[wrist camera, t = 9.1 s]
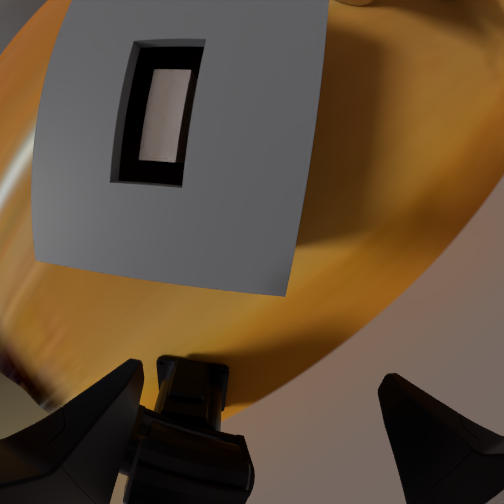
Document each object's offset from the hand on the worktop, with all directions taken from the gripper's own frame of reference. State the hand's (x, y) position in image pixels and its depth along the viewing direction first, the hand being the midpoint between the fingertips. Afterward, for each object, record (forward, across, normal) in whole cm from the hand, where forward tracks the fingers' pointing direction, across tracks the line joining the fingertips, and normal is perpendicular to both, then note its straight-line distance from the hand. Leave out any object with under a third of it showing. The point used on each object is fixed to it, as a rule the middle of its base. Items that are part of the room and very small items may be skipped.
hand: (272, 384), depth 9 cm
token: (+12, +6, -9) cm, 16 cm away
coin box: (+12, +6, -9) cm, 16 cm away
